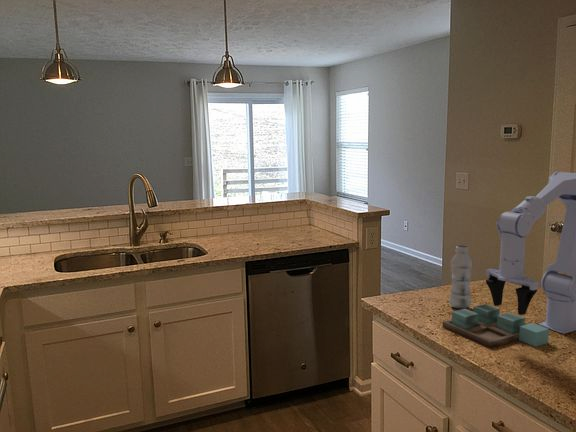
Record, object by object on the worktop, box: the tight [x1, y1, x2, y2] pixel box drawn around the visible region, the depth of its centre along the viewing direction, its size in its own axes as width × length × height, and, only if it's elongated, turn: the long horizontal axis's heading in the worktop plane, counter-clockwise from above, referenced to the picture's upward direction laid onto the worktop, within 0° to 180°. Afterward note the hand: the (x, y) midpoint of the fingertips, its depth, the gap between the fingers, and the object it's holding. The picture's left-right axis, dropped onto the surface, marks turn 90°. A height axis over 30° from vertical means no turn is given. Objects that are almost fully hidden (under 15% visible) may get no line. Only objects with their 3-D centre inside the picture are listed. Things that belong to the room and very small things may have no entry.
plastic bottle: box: [448, 244, 473, 310], centre depth 163 cm, size 6×7×20 cm
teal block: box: [518, 322, 550, 348], centre depth 137 cm, size 5×5×4 cm
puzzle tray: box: [442, 303, 526, 349], centre depth 144 cm, size 17×17×5 cm
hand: (509, 309), depth 134 cm, fingers open, 7 cm apart
